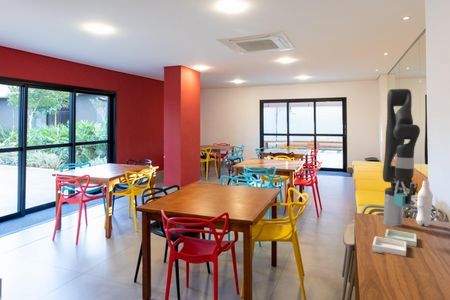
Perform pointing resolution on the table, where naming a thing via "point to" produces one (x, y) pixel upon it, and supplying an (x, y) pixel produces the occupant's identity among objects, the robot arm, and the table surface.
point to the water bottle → (424, 205)
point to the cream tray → (389, 246)
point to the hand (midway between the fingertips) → (402, 202)
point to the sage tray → (402, 236)
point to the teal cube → (400, 199)
